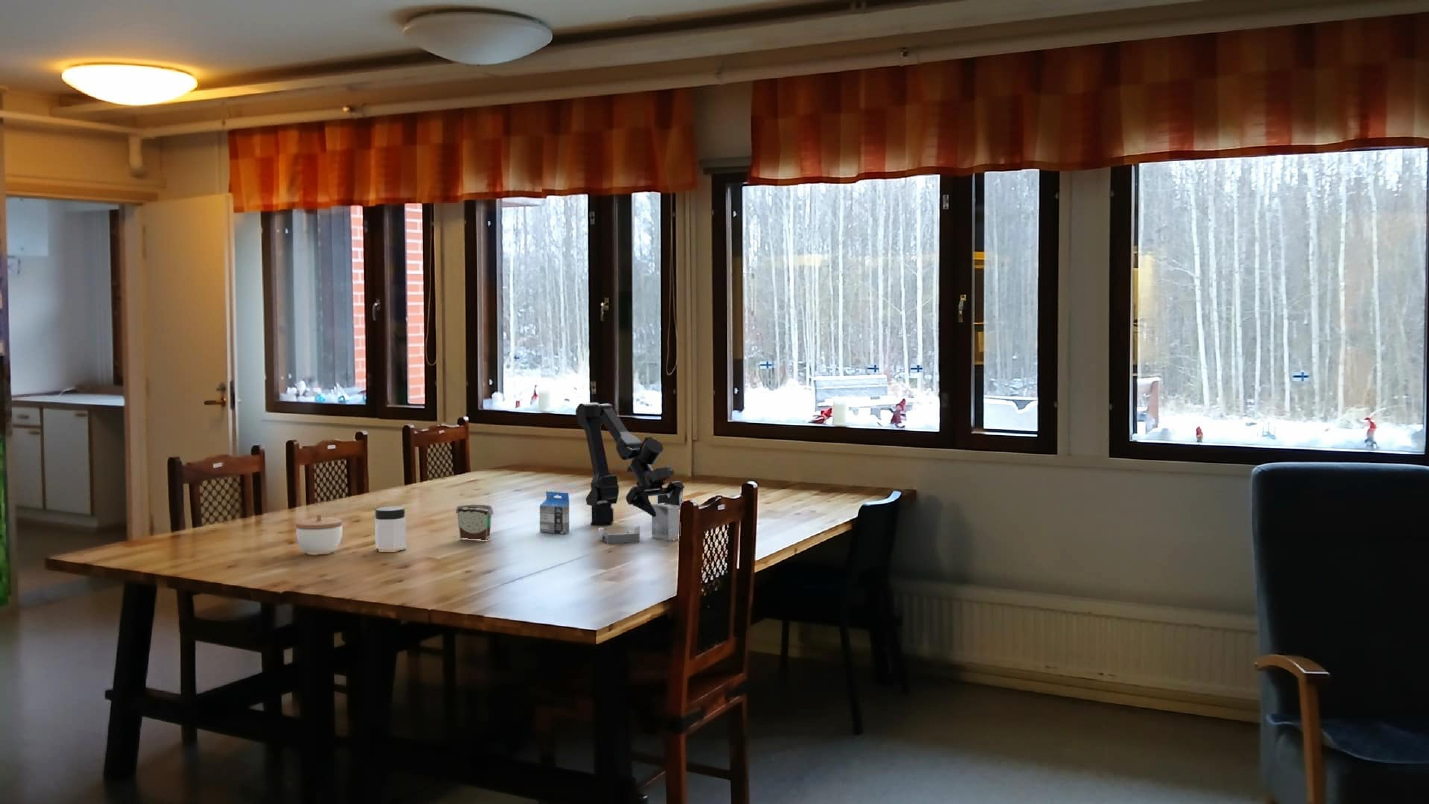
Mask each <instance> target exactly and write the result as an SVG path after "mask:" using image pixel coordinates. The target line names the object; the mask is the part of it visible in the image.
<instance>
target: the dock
mask: <svg viewBox="0 0 1429 804" xmlns="http://www.w3.org/2000/svg"><path fill="white" fill-rule="evenodd" d="M633 527H634V531H633V530H632V529H628V530H627V531H626V533H625V532H624V533H613V534H611V533H608V534H607V533H606V532H605V531H604V528H603V527H598V528H597V538H598V541H604V542H605V543H606V544H607V545H608V544H620V543H621V544H623V542H628V543H639V542H640V538H641V533H640V532H641V527H640V525H634V526H633Z"/></svg>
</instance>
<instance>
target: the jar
mask: <svg viewBox="0 0 1429 804" xmlns="http://www.w3.org/2000/svg"><path fill="white" fill-rule="evenodd" d="M405 508H406V507H403V506H400V505H398V506H397V505H395V506H391V505H390V506H381V507H378V508H375V509H374V510H375V511H374V513H375V515H374V516H375V517H374V534H375V535H374V537H375V538H374V539H375V540H374V541H375V549H376V548H378V549H396V548H404V547H406V548H407V526H406V525H407V523H406V517H405V514H406V513H405V512H406V511H405Z"/></svg>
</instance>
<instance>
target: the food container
mask: <svg viewBox="0 0 1429 804" xmlns="http://www.w3.org/2000/svg"><path fill="white" fill-rule="evenodd" d="M455 514H457V524H458V531H459V539H460V538H468V539H481V540H488V539H490V537H491V527H492V526H491V523H492V516H493V515H494V510H493V508H492V506H491V505H487V504H486V505H485V504H465V505H464V504H462V505H457V506H456V509H455Z"/></svg>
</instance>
